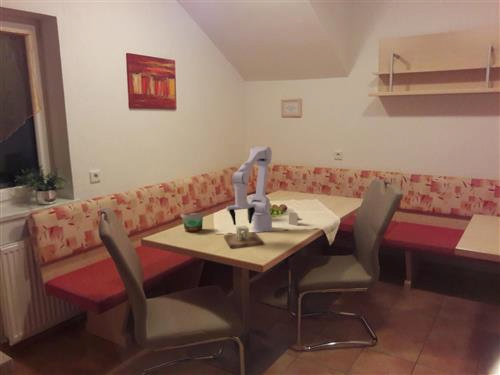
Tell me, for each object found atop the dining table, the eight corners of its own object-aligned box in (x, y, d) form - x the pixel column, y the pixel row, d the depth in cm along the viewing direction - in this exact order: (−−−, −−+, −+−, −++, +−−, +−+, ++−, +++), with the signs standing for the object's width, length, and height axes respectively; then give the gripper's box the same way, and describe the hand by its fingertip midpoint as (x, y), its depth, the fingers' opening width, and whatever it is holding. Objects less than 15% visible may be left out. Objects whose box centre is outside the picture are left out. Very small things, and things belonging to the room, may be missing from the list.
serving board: (254, 234, 214) (254, 231, 213) (263, 244, 198) (263, 241, 198) (224, 238, 210) (223, 235, 210) (230, 248, 195) (230, 245, 194)
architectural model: (292, 223, 232) (291, 210, 231) (302, 225, 228) (302, 212, 227) (288, 225, 230) (288, 211, 228) (299, 226, 225) (299, 213, 224)
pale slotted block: (246, 236, 207) (246, 225, 206) (249, 239, 202) (248, 228, 201) (236, 237, 206) (236, 226, 205) (239, 240, 201) (238, 229, 200)
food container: (183, 234, 219) (182, 216, 217) (182, 231, 224) (180, 213, 222) (206, 231, 222) (205, 213, 220) (204, 228, 228) (203, 210, 226)
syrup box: (253, 217, 245) (252, 193, 242) (261, 219, 241) (260, 194, 238) (247, 220, 241) (246, 195, 238) (255, 221, 237) (254, 196, 234)
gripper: (227, 199, 194) (229, 227, 197) (257, 196, 197) (258, 224, 200) (225, 196, 201) (226, 223, 204) (254, 193, 204) (255, 220, 207)
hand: (242, 223), depth 202 cm, fingers open, 7 cm apart
